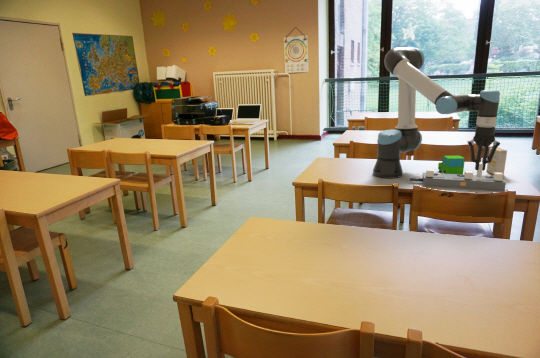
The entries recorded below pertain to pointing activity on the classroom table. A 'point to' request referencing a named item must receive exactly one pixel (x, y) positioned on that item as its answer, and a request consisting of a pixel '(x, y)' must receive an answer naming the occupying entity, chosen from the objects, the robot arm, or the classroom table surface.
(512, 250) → the classroom table surface
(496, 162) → the supplement box
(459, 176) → the power strip
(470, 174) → the slider middle
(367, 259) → the classroom table surface
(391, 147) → the robot arm
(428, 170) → the slider near arm
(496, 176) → the block
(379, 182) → the classroom table surface
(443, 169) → the toy car
